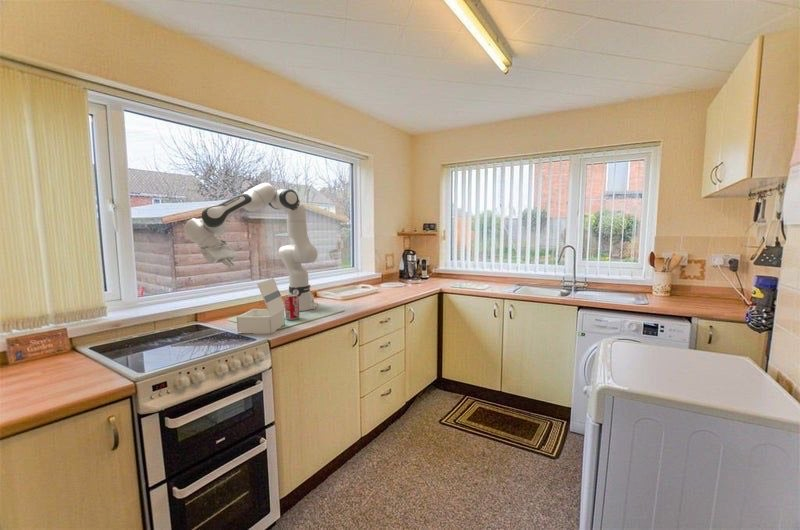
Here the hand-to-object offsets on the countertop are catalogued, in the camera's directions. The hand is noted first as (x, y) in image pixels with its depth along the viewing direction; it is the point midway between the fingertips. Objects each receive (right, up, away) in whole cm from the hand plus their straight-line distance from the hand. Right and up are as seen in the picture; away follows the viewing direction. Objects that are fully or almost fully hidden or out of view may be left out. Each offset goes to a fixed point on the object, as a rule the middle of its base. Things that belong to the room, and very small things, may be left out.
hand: (232, 266), depth 169 cm
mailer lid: (+20, -15, -3) cm, 25 cm away
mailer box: (+15, -31, -1) cm, 34 cm away
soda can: (+24, -29, +18) cm, 41 cm away
